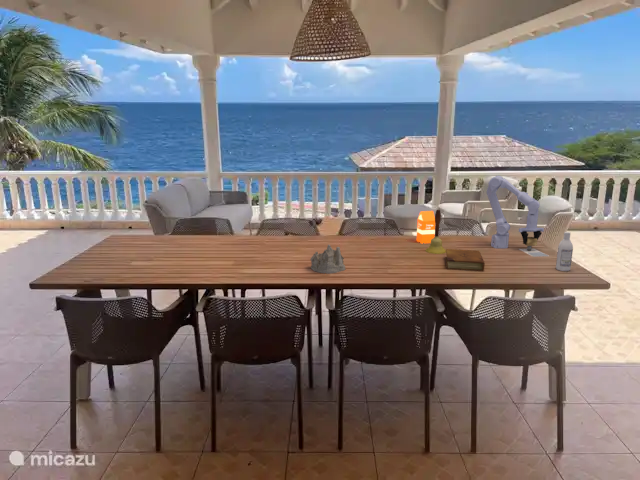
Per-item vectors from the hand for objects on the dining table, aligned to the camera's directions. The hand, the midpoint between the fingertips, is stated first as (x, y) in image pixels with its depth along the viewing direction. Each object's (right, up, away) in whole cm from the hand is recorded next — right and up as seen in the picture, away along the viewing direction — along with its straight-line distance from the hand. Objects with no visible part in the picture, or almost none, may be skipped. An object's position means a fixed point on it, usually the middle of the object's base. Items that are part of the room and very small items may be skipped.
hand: (529, 243), depth 297 cm
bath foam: (+4, -14, -33) cm, 36 cm away
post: (0, -5, +1) cm, 5 cm away
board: (+1, -6, -4) cm, 7 cm away
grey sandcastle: (-120, -13, -33) cm, 125 cm away
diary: (-46, -12, -24) cm, 53 cm away
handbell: (-55, -5, +2) cm, 55 cm away
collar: (0, -1, 0) cm, 1 cm away
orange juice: (-57, +1, +25) cm, 62 cm away
